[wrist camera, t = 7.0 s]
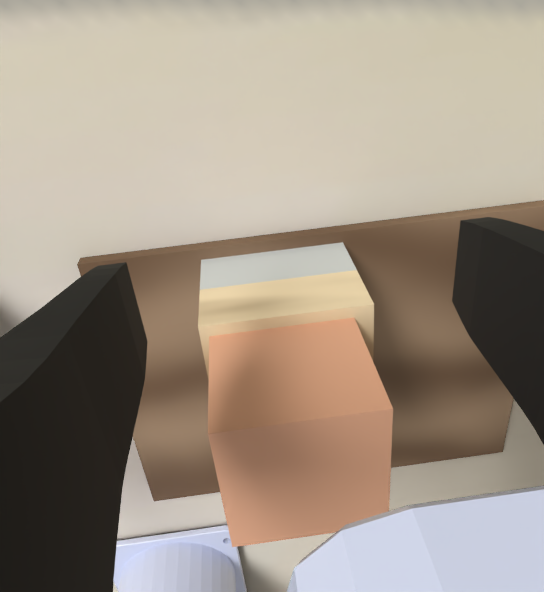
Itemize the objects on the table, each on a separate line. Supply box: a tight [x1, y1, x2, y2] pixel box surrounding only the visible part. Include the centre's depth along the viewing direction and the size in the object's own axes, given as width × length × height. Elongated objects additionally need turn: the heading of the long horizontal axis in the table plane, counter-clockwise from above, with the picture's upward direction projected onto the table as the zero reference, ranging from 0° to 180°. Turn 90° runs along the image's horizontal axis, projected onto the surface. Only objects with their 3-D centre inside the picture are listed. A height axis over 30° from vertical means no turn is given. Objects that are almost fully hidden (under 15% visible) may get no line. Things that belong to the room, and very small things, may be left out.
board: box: [77, 200, 544, 501], centre depth 26 cm, size 15×20×1 cm
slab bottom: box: [200, 242, 357, 290], centre depth 22 cm, size 6×6×2 cm
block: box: [208, 318, 393, 547], centre depth 17 cm, size 5×5×4 cm
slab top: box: [198, 270, 374, 380], centre depth 20 cm, size 6×6×2 cm
